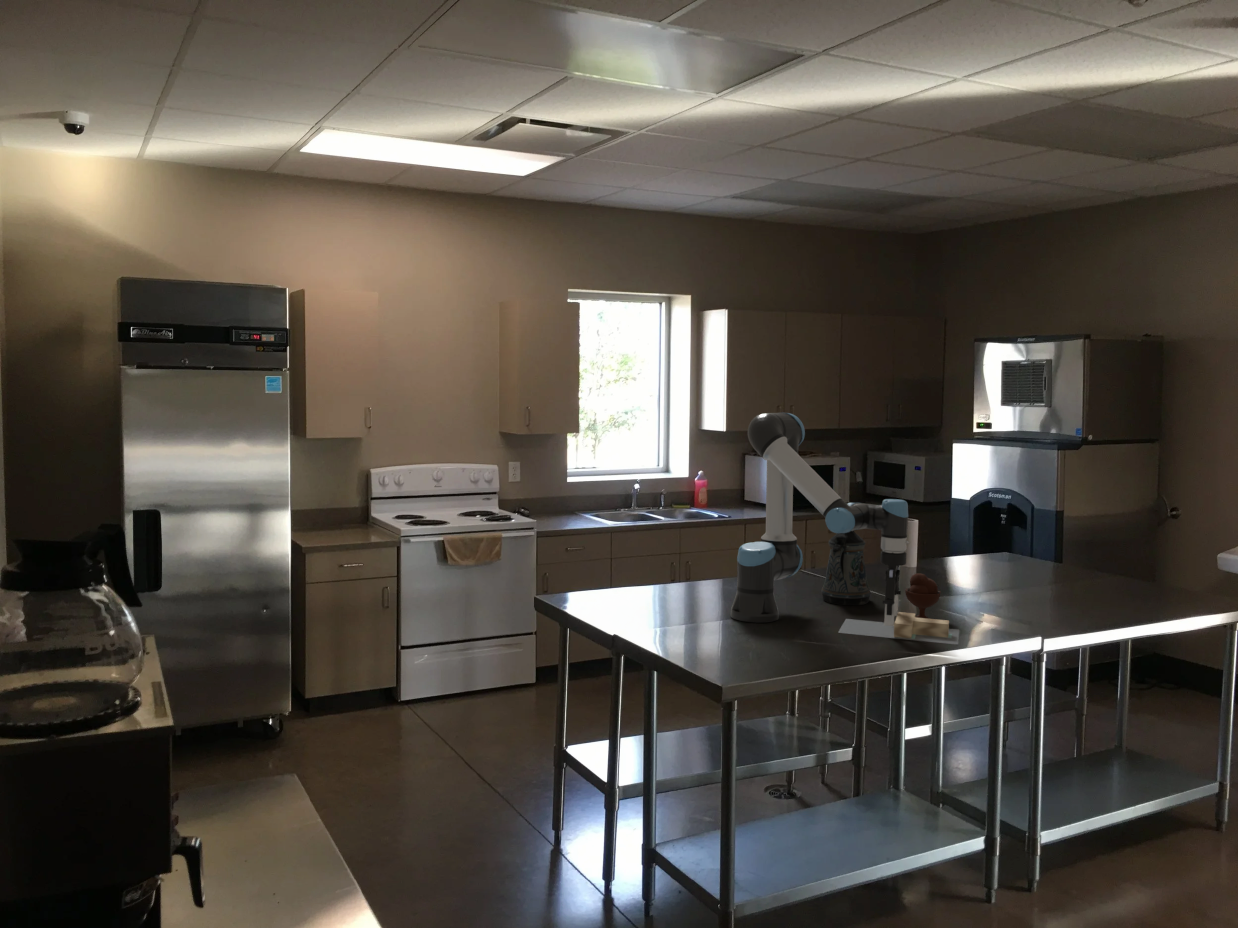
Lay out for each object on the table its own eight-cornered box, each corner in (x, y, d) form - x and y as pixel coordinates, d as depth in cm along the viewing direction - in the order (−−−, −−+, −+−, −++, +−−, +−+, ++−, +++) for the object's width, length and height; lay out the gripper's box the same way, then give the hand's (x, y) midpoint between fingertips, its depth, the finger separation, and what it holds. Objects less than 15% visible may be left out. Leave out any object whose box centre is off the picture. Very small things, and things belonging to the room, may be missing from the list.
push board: (837, 633, 298) (837, 632, 298) (845, 619, 316) (845, 618, 316) (958, 645, 286) (958, 644, 286) (959, 630, 304) (959, 629, 304)
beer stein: (866, 596, 352) (869, 525, 350) (874, 608, 333) (877, 534, 331) (818, 594, 354) (821, 524, 352) (824, 606, 335) (827, 532, 333)
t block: (893, 636, 294) (894, 623, 294) (898, 624, 309) (898, 611, 309) (947, 641, 289) (947, 628, 288) (949, 629, 304) (949, 616, 303)
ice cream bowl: (916, 625, 310) (918, 577, 309) (897, 617, 321) (899, 571, 320) (946, 623, 313) (948, 576, 312) (926, 615, 324) (928, 569, 323)
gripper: (903, 558, 287) (900, 630, 289) (909, 545, 310) (906, 612, 312) (876, 556, 290) (874, 628, 291) (884, 544, 313) (882, 610, 315)
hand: (891, 620), depth 302 cm, fingers open, 13 cm apart
